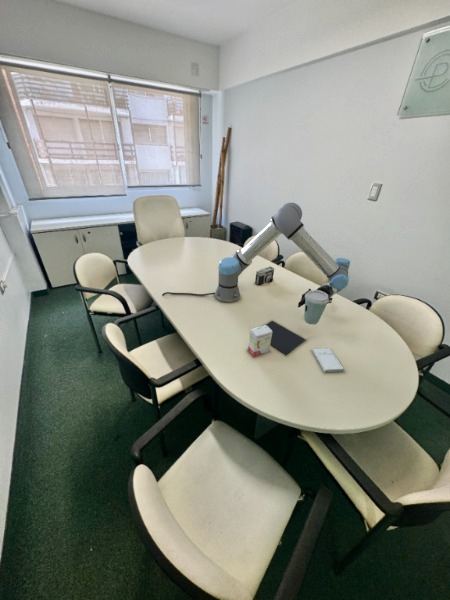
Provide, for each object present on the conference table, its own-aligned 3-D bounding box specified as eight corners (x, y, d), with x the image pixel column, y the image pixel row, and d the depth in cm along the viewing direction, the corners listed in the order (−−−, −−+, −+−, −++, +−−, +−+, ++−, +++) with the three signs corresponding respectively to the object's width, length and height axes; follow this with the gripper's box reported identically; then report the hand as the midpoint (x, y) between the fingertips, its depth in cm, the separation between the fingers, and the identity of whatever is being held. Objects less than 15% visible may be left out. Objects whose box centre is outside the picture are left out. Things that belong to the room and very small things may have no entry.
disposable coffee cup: (310, 329, 112) (318, 302, 105) (294, 317, 120) (300, 291, 112) (326, 323, 117) (335, 297, 109) (310, 312, 125) (317, 287, 117)
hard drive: (324, 372, 99) (312, 351, 110) (343, 371, 100) (329, 350, 110) (325, 369, 98) (313, 348, 109) (344, 368, 99) (330, 347, 109)
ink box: (253, 357, 105) (256, 336, 99) (247, 350, 109) (249, 329, 103) (269, 351, 108) (273, 330, 102) (263, 344, 112) (266, 324, 106)
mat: (252, 333, 119) (252, 333, 119) (272, 321, 128) (272, 320, 128) (286, 355, 107) (286, 354, 106) (305, 340, 116) (305, 339, 116)
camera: (263, 288, 160) (265, 274, 155) (254, 283, 165) (255, 270, 160) (277, 282, 168) (279, 269, 163) (268, 278, 173) (269, 265, 168)
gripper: (339, 303, 125) (316, 320, 111) (311, 291, 135) (286, 306, 121) (343, 291, 121) (320, 307, 107) (314, 279, 131) (289, 293, 117)
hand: (302, 306), depth 114 cm, fingers closed on disposable coffee cup, 3 cm apart
